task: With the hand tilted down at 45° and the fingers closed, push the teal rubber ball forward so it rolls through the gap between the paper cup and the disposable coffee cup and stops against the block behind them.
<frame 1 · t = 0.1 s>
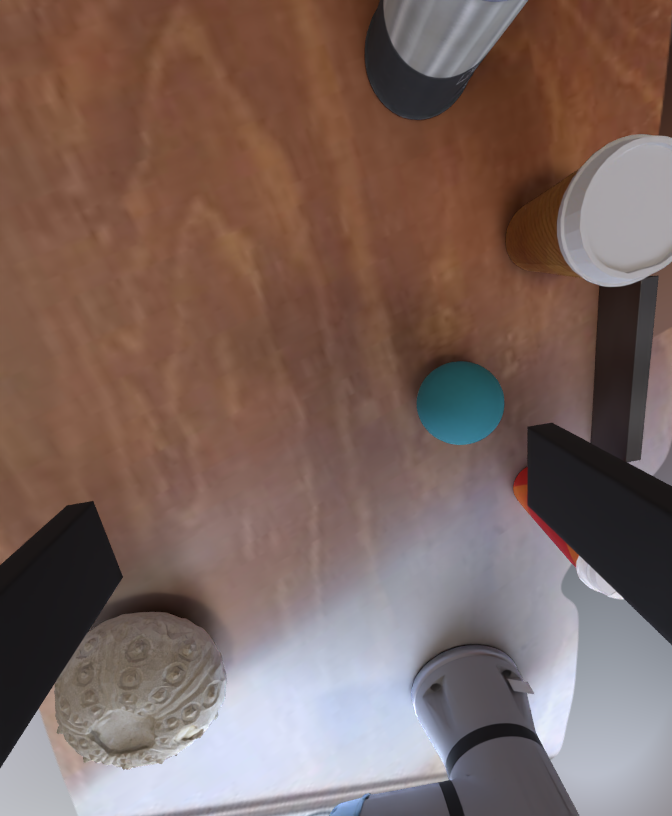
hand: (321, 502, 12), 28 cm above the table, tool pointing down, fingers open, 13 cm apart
milk frother: (393, 6, 31), on the table
decorative shell: (161, 647, 48), on the table
disposable coffee cup: (536, 236, 37), on the table
paper cup: (534, 483, 45), on the table
block: (602, 366, 41), on the table
ball: (459, 403, 37), point 4 cm above the table
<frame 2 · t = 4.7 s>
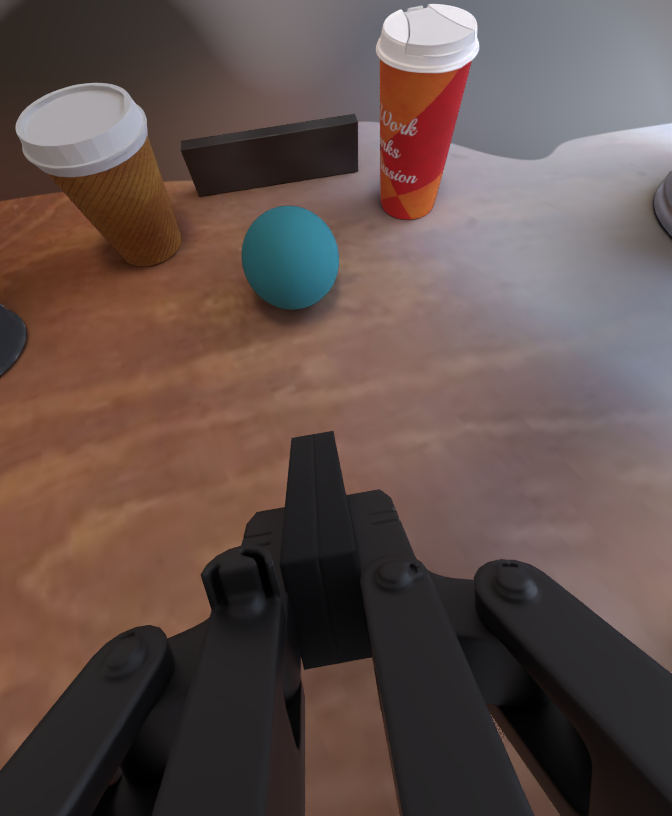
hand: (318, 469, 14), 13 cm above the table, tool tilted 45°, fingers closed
disposable coffee cup: (152, 246, 40), on the table
paper cup: (407, 204, 40), on the table
block: (278, 179, 43), on the table
ball: (291, 260, 32), point 4 cm above the table
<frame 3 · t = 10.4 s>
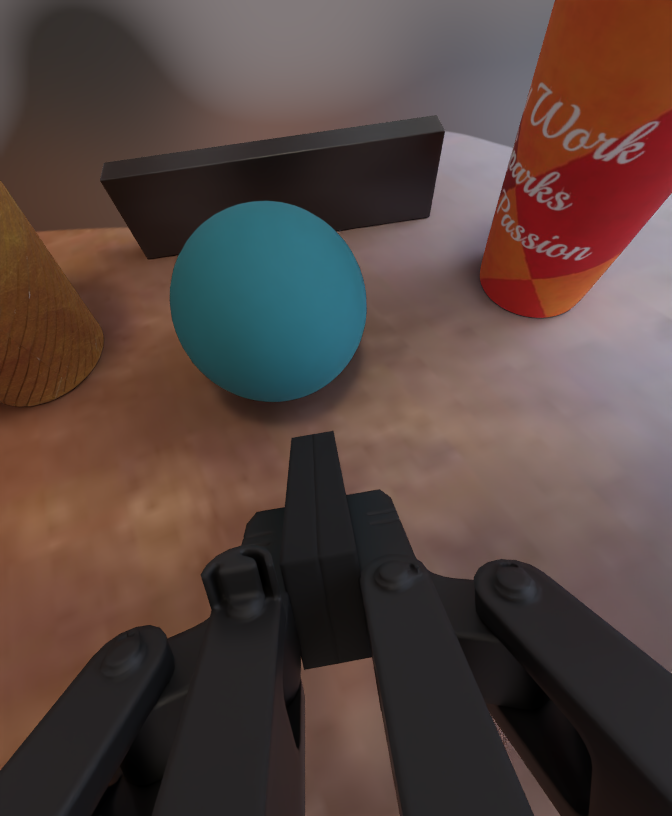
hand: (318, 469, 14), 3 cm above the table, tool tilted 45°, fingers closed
disposable coffee cup: (48, 358, 21), on the table
paper cup: (529, 283, 22), on the table
block: (288, 229, 24), on the table
ball: (272, 307, 16), point 4 cm above the table, tilted 103°
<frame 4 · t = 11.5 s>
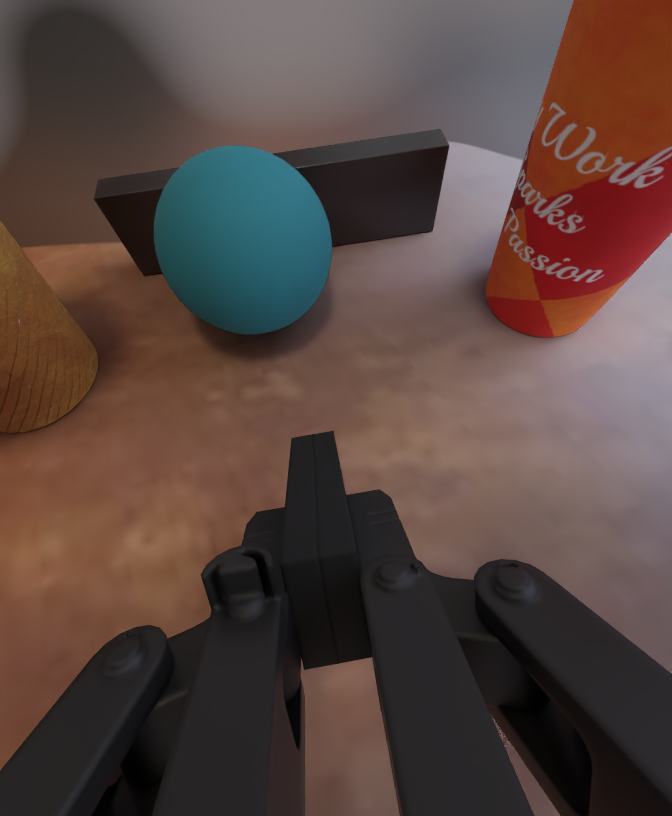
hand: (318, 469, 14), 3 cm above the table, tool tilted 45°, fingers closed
disposable coffee cup: (41, 380, 20), on the table
paper cup: (536, 300, 21), on the table
block: (288, 244, 24), on the table
ball: (247, 248, 18), point 4 cm above the table, tilted 179°
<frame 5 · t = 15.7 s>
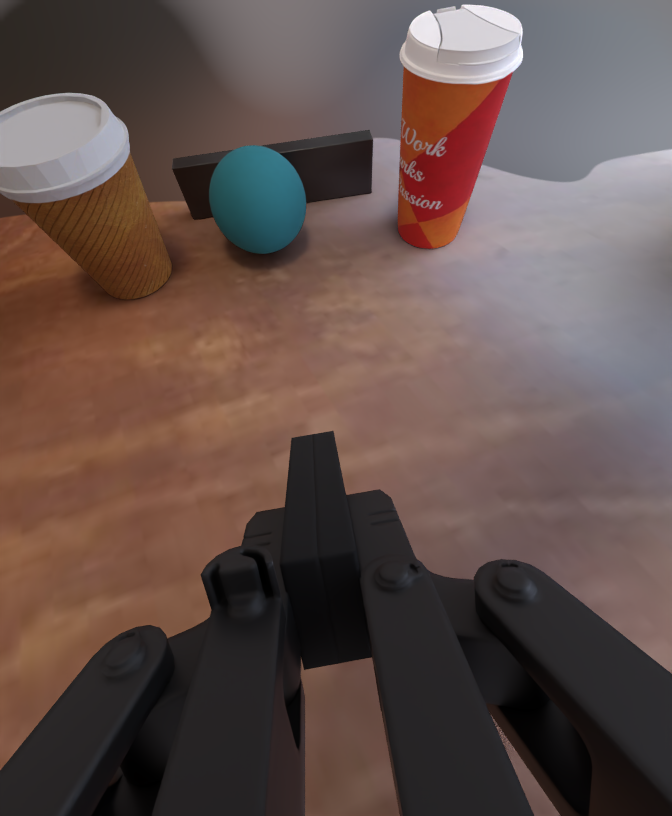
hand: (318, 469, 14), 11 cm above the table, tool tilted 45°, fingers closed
disposable coffee cup: (139, 275, 35), on the table
paper cup: (427, 230, 36), on the table
block: (282, 201, 39), on the table
ball: (258, 202, 32), point 4 cm above the table, tilted 166°
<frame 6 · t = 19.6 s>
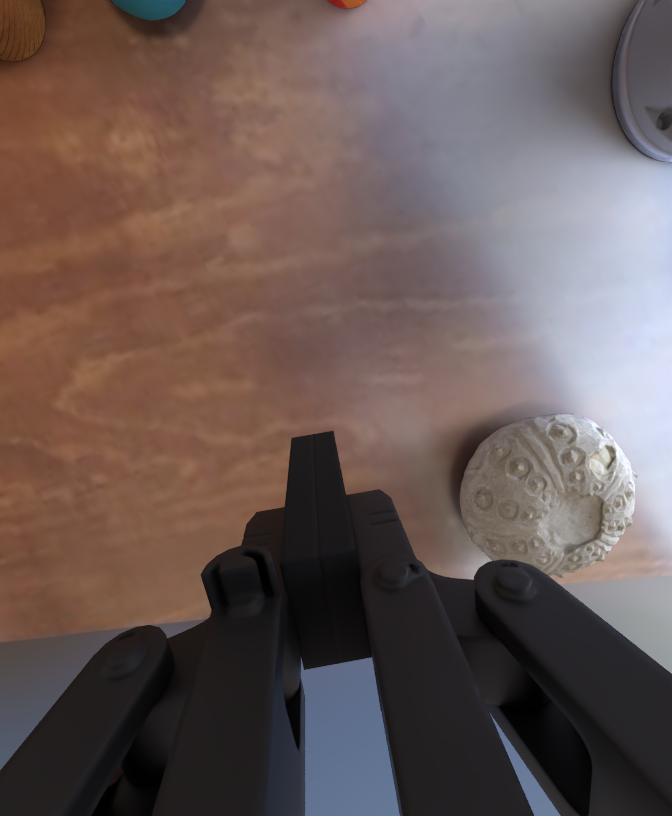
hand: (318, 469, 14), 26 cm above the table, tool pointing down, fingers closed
decorative shell: (519, 474, 45), on the table
disposable coffee cup: (4, 14, 30), on the table
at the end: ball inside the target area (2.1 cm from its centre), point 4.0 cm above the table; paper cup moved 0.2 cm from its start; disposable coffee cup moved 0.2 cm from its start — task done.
